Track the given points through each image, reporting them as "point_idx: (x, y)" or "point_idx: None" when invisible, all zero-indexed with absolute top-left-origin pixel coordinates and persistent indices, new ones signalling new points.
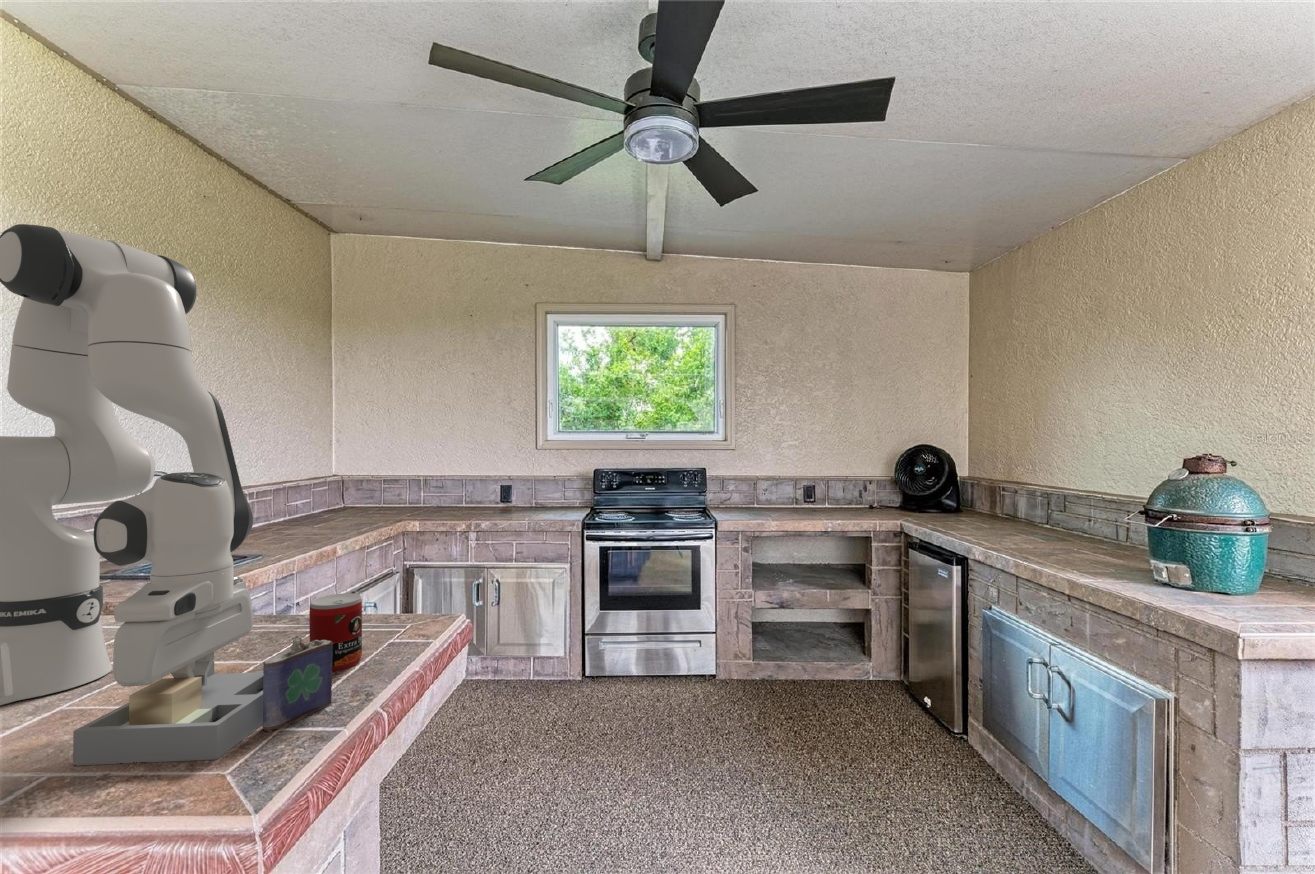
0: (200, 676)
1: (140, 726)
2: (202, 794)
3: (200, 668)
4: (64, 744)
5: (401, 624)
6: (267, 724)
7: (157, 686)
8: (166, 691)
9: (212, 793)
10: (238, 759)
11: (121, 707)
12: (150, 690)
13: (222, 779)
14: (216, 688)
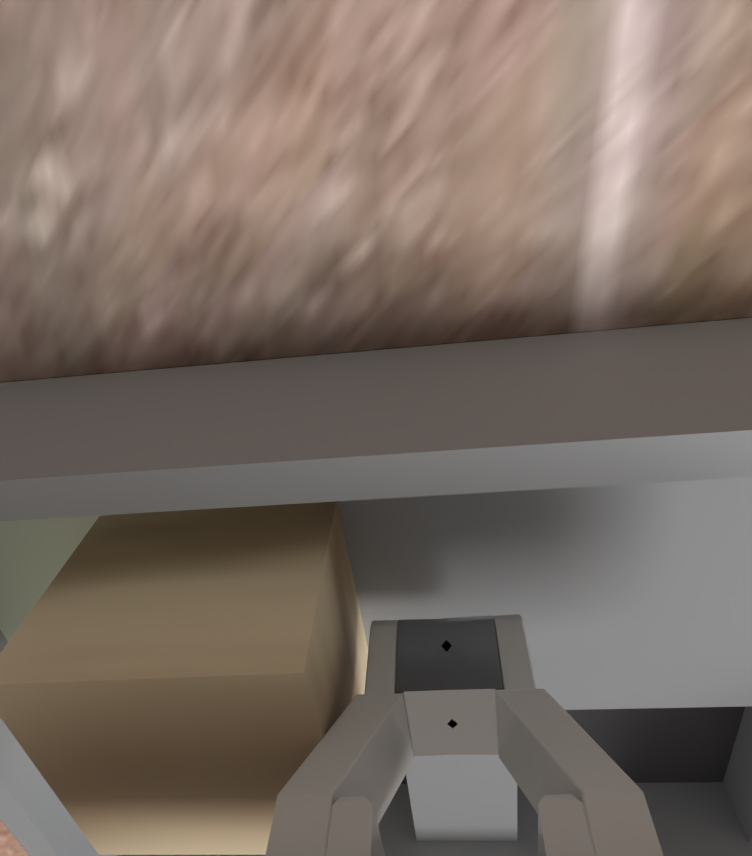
0: (481, 747)
1: None
2: (3, 834)
3: (531, 778)
4: (23, 54)
5: None
6: None
7: (158, 740)
8: (110, 822)
9: (16, 847)
10: None
11: (73, 492)
12: (88, 747)
13: None
14: (635, 590)
